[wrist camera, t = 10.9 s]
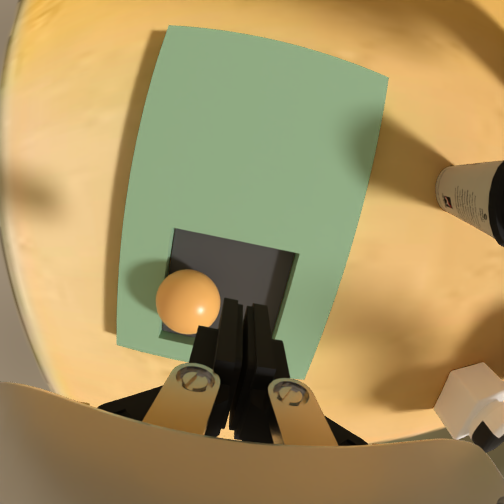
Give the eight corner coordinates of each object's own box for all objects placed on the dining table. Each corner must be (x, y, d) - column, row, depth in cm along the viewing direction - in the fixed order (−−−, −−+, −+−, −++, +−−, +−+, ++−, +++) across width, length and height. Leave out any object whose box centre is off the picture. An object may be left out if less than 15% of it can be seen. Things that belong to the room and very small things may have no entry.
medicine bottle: (465, 398, 32) (504, 447, 21) (431, 408, 32) (469, 466, 20) (483, 360, 30) (530, 409, 19) (449, 369, 30) (498, 427, 18)
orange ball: (179, 275, 26) (145, 264, 22) (231, 274, 25) (203, 262, 20) (176, 332, 25) (140, 331, 20) (229, 335, 24) (200, 336, 19)
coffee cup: (419, 218, 24) (493, 247, 15) (430, 145, 22) (508, 145, 13) (468, 230, 25) (537, 258, 15) (479, 164, 23) (551, 174, 13)
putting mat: (172, 32, 19) (168, 25, 18) (381, 81, 21) (388, 77, 19) (121, 336, 26) (116, 344, 25) (301, 370, 28) (304, 379, 27)
